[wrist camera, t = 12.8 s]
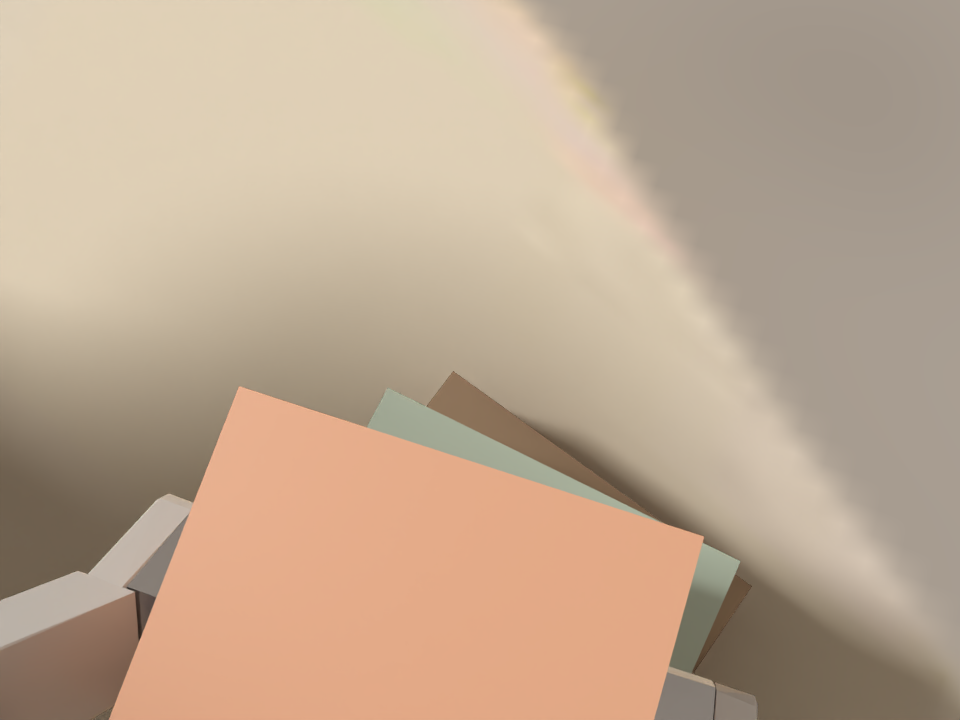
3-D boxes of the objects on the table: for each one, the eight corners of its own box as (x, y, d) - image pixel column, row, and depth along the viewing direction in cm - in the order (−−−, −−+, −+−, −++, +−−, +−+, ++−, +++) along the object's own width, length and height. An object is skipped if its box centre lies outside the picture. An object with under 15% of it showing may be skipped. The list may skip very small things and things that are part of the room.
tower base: (533, 859, 24) (529, 915, 20) (281, 647, 26) (232, 661, 22) (721, 583, 25) (751, 586, 21) (468, 399, 27) (453, 371, 23)
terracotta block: (554, 840, 15) (550, 1095, 8) (283, 735, 16) (46, 879, 8) (637, 551, 16) (704, 536, 9) (378, 465, 17) (239, 386, 9)
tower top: (563, 886, 20) (564, 962, 16) (263, 712, 22) (198, 743, 18) (707, 562, 21) (740, 561, 18) (416, 417, 23) (387, 387, 19)
